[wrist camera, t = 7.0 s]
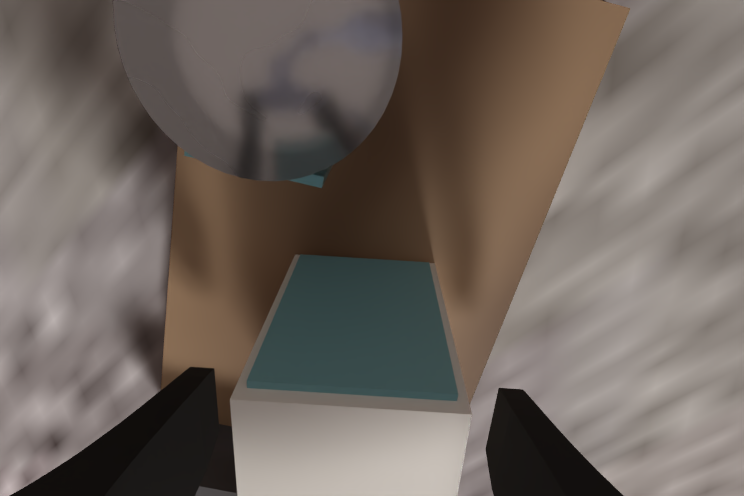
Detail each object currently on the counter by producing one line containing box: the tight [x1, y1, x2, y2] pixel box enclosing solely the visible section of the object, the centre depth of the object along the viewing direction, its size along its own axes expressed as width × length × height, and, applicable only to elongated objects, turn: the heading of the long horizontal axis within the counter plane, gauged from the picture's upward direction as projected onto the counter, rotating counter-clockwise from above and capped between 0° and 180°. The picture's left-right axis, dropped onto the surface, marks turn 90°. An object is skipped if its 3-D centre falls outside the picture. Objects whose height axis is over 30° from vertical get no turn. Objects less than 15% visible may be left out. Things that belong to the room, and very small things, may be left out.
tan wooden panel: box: [161, 0, 630, 496], centre depth 13 cm, size 10×16×4 cm, turn 167°
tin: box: [113, 0, 402, 188], centre depth 9 cm, size 4×4×5 cm
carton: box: [230, 254, 472, 496], centre depth 11 cm, size 6×4×6 cm, turn 177°
